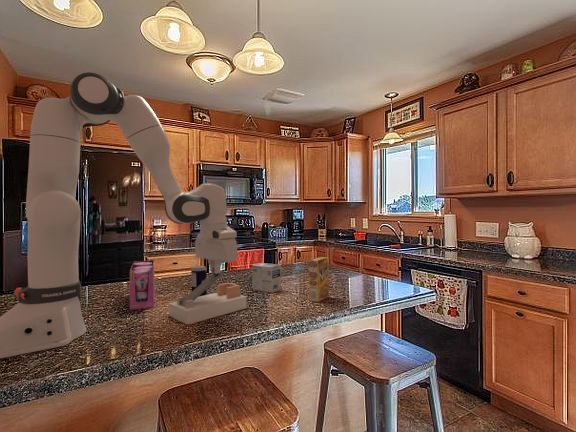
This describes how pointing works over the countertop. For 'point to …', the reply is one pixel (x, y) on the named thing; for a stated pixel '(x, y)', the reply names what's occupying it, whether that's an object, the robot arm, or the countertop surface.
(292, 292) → the countertop surface
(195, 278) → the beverage can
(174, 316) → the hinged pedal on base
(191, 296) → the dark grey flat bar
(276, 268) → the light bulb box
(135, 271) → the gum box
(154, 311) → the countertop surface
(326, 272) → the candy box
